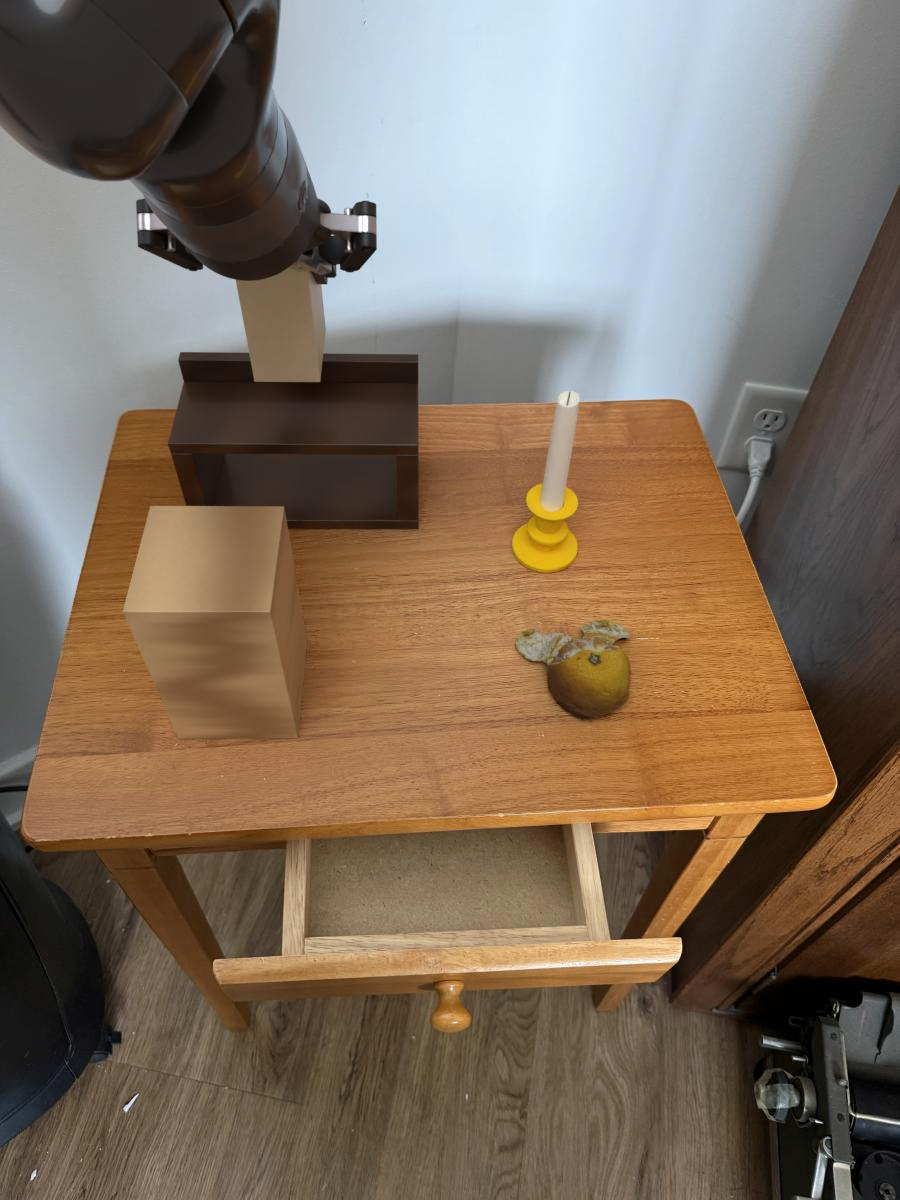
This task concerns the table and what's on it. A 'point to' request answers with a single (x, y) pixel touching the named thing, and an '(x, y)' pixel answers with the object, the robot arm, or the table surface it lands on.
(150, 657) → the block
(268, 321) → the snack box
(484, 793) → the table surface
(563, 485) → the candle
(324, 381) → the shelf
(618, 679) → the fruit
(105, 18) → the robot arm
